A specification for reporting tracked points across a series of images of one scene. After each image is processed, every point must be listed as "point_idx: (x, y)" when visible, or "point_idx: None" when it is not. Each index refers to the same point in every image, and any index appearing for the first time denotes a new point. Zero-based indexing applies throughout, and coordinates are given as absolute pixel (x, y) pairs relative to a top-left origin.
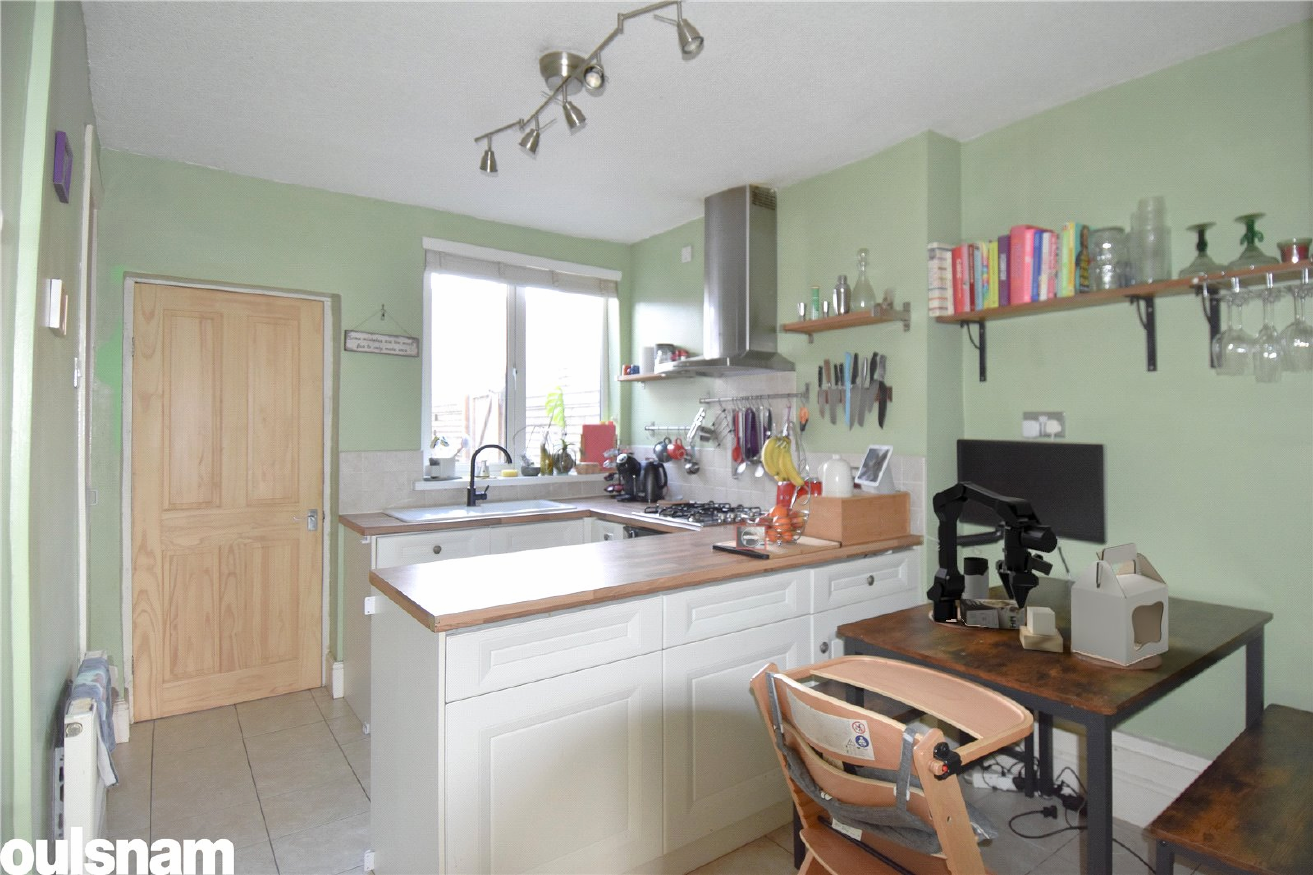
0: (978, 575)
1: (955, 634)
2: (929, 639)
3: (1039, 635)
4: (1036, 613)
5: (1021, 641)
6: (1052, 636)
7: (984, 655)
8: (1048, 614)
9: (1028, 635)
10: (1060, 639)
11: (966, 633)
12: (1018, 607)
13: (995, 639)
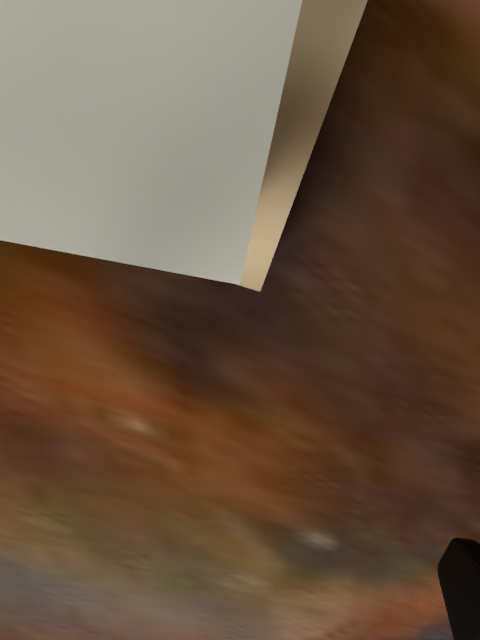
0: None
1: (41, 493)
2: (139, 592)
3: (268, 176)
4: (247, 233)
5: None
6: (300, 67)
7: (351, 478)
8: (284, 70)
9: (269, 264)
10: (360, 18)
11: (10, 445)
12: (446, 580)
13: (93, 347)
